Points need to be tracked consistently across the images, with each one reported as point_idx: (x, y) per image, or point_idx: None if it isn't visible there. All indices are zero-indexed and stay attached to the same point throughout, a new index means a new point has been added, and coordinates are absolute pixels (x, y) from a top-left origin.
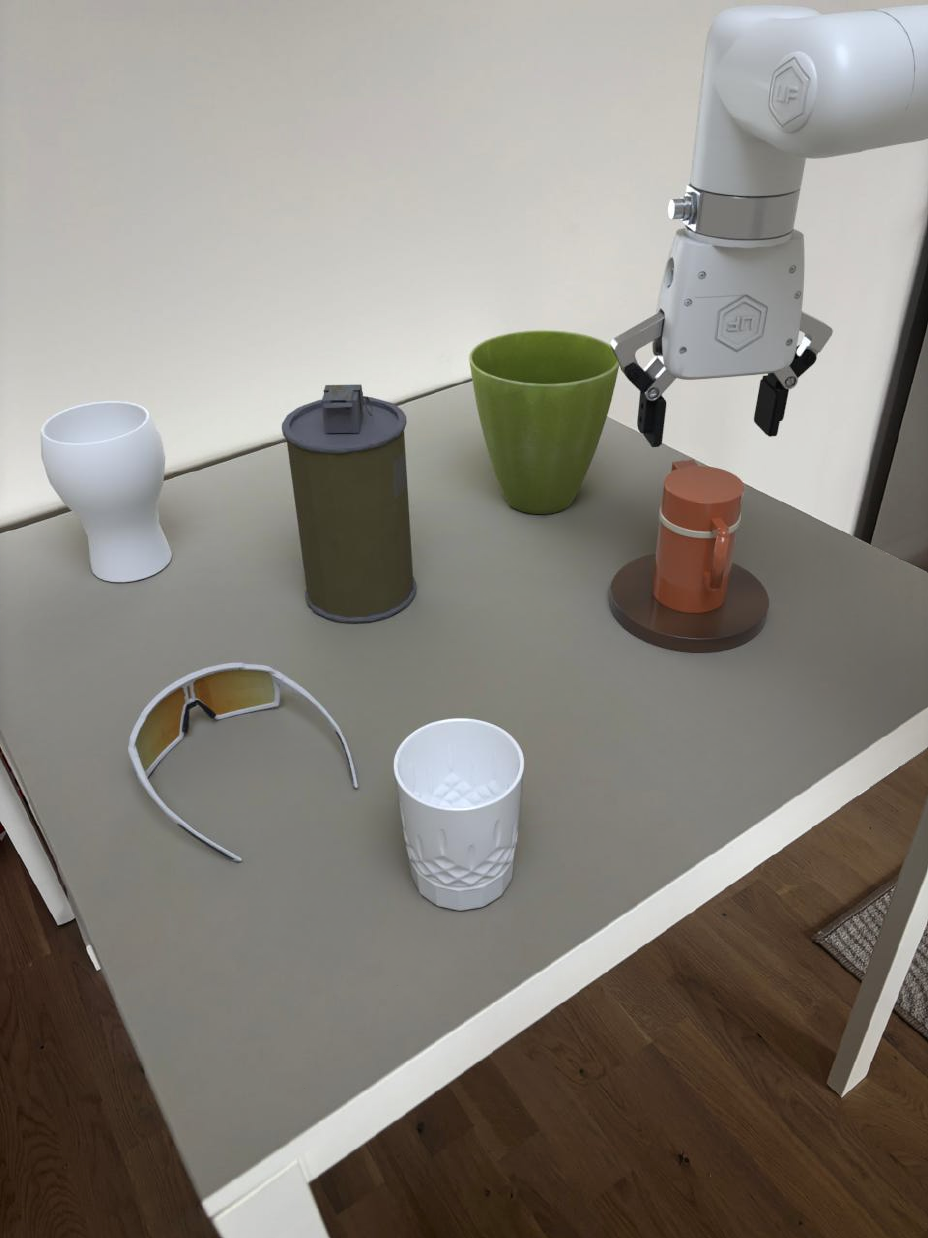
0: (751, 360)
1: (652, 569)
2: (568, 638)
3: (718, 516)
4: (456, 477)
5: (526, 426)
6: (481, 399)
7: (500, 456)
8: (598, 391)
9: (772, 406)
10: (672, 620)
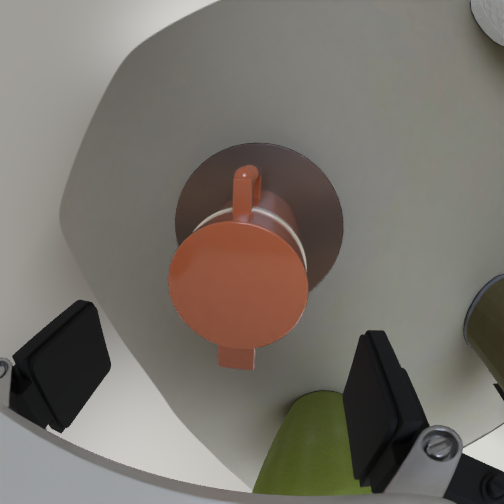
0: (13, 482)
1: None
2: (394, 206)
3: (237, 214)
4: None
5: None
6: None
7: None
8: (292, 488)
9: (56, 345)
10: (296, 184)
